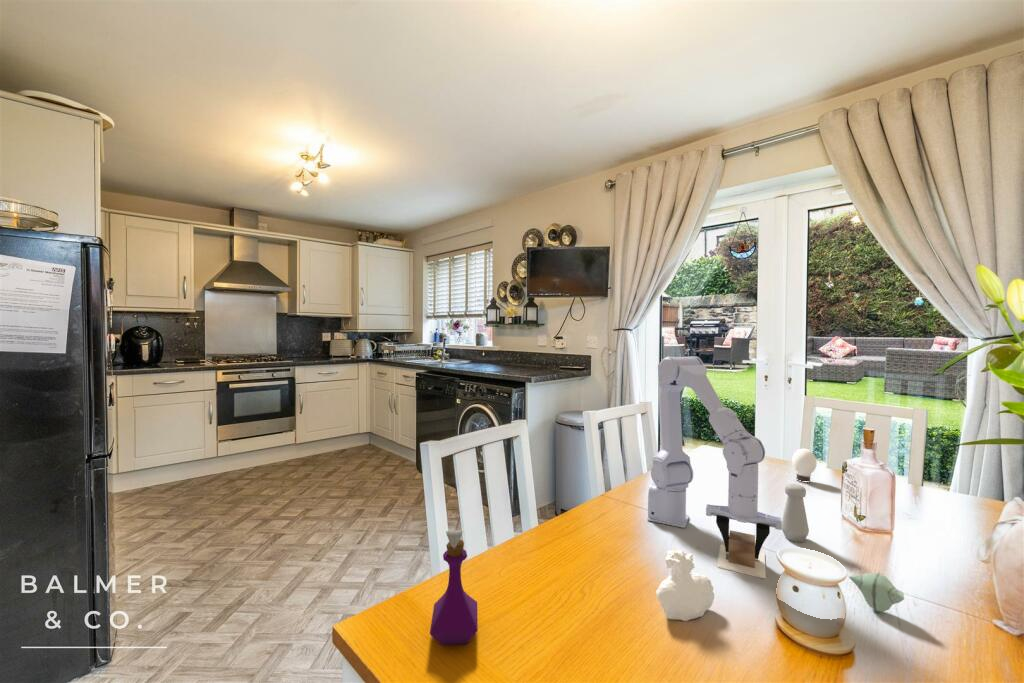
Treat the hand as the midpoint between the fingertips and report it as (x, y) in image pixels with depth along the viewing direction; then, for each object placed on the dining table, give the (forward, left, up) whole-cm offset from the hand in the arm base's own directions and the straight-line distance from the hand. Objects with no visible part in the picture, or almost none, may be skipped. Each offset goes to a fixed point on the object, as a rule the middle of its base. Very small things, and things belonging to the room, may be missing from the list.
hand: (741, 553), depth 96 cm
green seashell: (+22, -7, -2) cm, 23 cm away
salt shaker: (+11, +18, -2) cm, 21 cm away
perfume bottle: (-41, -50, -2) cm, 65 cm away
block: (0, 0, -1) cm, 1 cm away
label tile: (0, 0, -2) cm, 2 cm away
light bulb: (+17, +67, -2) cm, 69 cm away
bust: (-9, -24, -2) cm, 26 cm away
